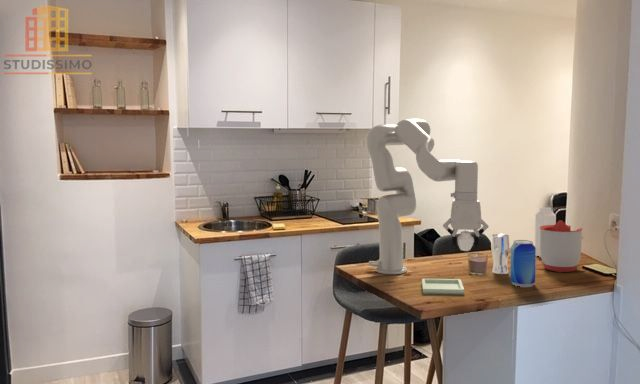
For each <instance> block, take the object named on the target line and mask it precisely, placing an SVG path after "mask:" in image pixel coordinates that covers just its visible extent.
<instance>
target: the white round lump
mask: <svg viewBox="0 0 640 384" xmlns="http://www.w3.org/2000/svg"><path fill="white" fill-rule="evenodd" d="M473 244H474V236H473V235H472V233H471V232H470V231H469V230H462V231H460V234H459V235H458V237H457V247H458V248H459V250H460V251H464V252H469V251H471V249H472V247H474V246H473Z"/></svg>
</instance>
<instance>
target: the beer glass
mask: <svg viewBox="0 0 640 384" xmlns="http://www.w3.org/2000/svg"><path fill="white" fill-rule="evenodd" d="M490 243H491V244H490V248H491V257H492V262H493V263H492V264H493V266H492V271H491V272H492V273H493V274H495V275H507V274H509V269H508V268H509V267H508V260H509V256H510V250H511V246H510V235H509V234H505V233H504V234H503V233H494V234H491V240H490Z"/></svg>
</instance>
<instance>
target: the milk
mask: <svg viewBox="0 0 640 384" xmlns="http://www.w3.org/2000/svg"><path fill="white" fill-rule="evenodd" d="M556 223H557V216H556V214H555V213H554V212H553V211H552V207H551V206H549V207H540V208H539V212H537V213H536V214H535V231H534V232H535V233H534V234H535V235H534V237H535V238H534V239H535V240H534V241H535V245H534V246H535V249H536V253H535V255H536V256H535V257H537V256H539V257H538V258H541V253H540V227H541V226H544V225H555V224H556Z"/></svg>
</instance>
